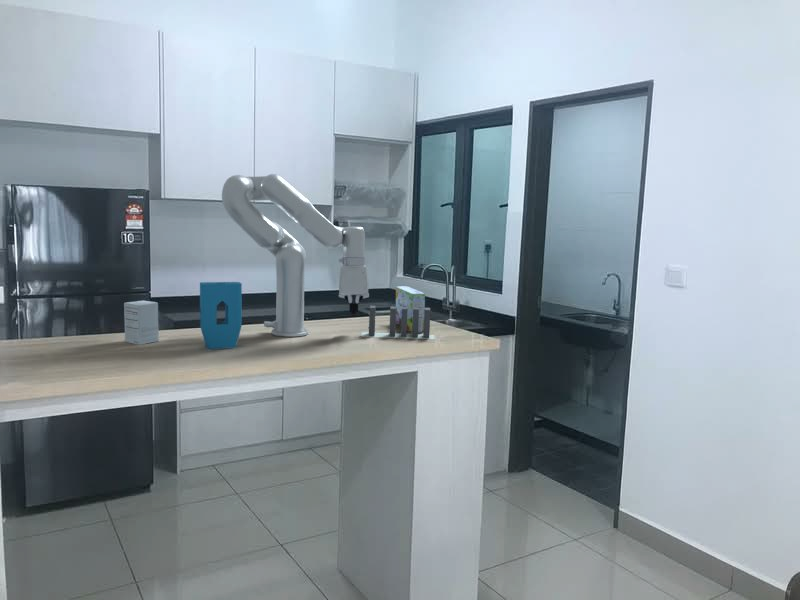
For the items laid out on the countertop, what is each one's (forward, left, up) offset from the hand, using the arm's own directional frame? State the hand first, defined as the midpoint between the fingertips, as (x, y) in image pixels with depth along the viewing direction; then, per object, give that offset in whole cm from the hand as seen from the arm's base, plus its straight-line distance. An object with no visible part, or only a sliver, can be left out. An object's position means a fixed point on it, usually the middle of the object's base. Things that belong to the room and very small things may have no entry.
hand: (353, 313), depth 222 cm
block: (-39, -27, -8) cm, 48 cm away
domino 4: (+22, 0, -7) cm, 23 cm away
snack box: (+20, +18, -8) cm, 28 cm away
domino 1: (+7, 0, -7) cm, 10 cm away
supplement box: (-65, -24, -8) cm, 70 cm away
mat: (+16, 0, -8) cm, 18 cm away
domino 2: (+14, 0, -7) cm, 16 cm away
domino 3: (+18, 0, -7) cm, 19 cm away
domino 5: (+26, 0, -7) cm, 27 cm away
